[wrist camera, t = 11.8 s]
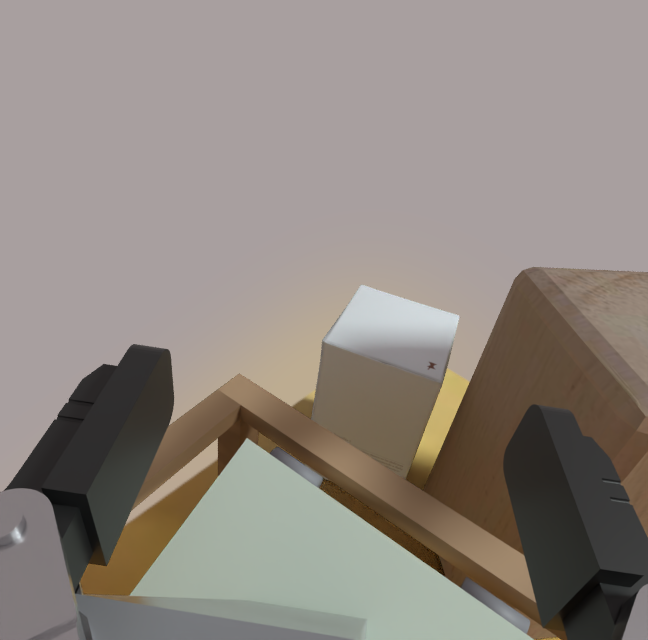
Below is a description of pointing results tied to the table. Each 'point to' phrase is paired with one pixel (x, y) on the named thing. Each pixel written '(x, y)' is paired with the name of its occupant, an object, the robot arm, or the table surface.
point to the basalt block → (210, 620)
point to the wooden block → (551, 392)
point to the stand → (342, 482)
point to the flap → (315, 559)
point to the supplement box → (383, 375)
